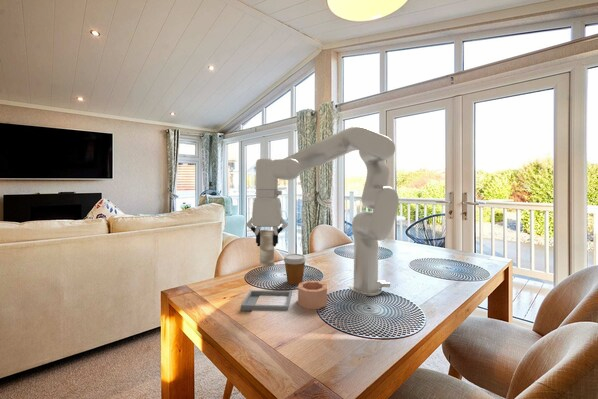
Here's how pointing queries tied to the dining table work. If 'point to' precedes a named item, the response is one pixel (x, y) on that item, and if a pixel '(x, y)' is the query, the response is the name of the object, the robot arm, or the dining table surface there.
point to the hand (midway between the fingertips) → (267, 245)
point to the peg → (266, 248)
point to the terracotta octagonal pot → (312, 294)
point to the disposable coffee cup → (294, 268)
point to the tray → (252, 299)
